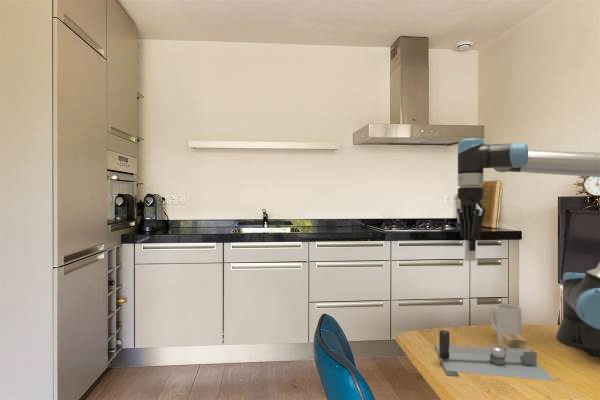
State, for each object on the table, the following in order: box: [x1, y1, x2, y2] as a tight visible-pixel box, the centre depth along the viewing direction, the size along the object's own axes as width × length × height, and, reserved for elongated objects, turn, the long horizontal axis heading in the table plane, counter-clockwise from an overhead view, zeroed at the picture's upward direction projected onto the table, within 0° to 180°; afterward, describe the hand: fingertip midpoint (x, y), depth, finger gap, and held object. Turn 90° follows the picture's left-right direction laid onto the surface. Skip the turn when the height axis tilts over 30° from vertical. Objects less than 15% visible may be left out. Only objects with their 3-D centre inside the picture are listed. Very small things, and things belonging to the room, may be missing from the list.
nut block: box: [502, 334, 527, 356], centre depth 107 cm, size 4×4×4 cm
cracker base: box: [434, 343, 555, 382], centre depth 101 cm, size 25×18×3 cm
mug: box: [489, 303, 522, 343], centre depth 118 cm, size 10×7×12 cm, turn 21°
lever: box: [438, 329, 538, 365], centre depth 100 cm, size 25×4×7 cm, turn 84°
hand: (470, 260), depth 117 cm, fingers closed
